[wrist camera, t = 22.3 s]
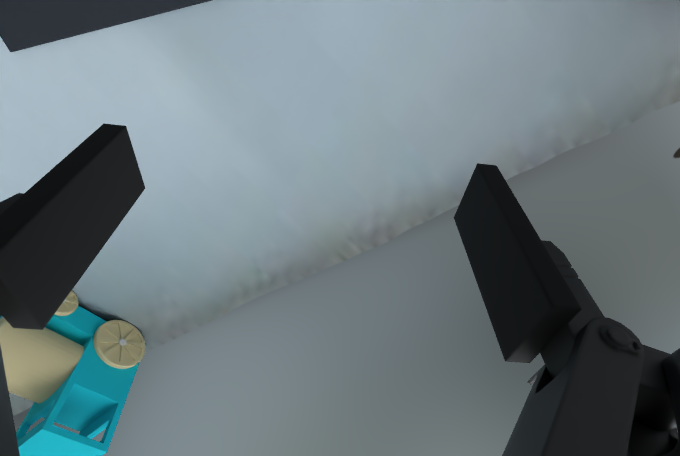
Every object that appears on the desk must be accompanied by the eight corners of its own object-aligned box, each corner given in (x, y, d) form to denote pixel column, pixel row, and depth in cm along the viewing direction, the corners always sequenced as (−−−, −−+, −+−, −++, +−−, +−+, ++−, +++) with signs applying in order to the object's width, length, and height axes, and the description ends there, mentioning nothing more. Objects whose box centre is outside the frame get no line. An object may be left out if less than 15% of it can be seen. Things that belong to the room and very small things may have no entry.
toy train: (25, 262, 39) (-88, 375, 27) (152, 335, 48) (112, 448, 35) (-19, 301, 41) (-147, 428, 28) (112, 366, 49) (59, 486, 36)
